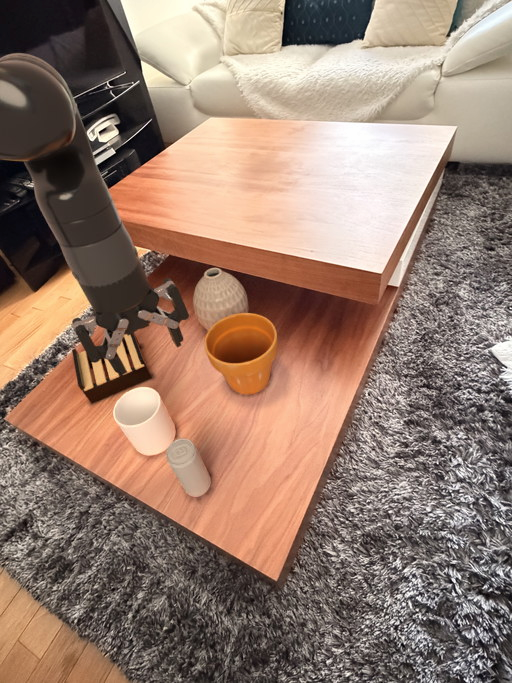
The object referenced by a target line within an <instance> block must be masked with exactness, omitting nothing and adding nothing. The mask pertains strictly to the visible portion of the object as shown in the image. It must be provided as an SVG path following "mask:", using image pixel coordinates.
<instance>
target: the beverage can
mask: <svg viewBox="0 0 512 683" xmlns="http://www.w3.org/2000/svg"><path fill="white" fill-rule="evenodd" d="M165 451H166V452H165V457H166V462H167V464H168V466H170V468H171V470H172V472H173V473H174V475H175V476H176V479H177V480H178V481H179V483H180V485H181V486H182V488H183V489H184V491H185V493H186V494H187V495H188V496H190V497H194V498H199V497H201V496H203V495H205V494H206V493H207V492H208V491H209V489H210V488H211V487H210V486H211V485H212V478H211V476H210V473H209V471H208V469H207V467H206V464H205V463H204V461H203V458H202V457H201V455H200V452H199V450H198V448H197V446H196V444H195V443H194V442H193V441H192V440H191V439H188V438H183V437H182V438H178V439H176V440H175V439H174V440H173V442H172V443H171V444H170V445H169V447H168V448H167V449H166V450H165Z"/></svg>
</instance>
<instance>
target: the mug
mask: <svg viewBox="0 0 512 683" xmlns="http://www.w3.org/2000/svg"><path fill="white" fill-rule="evenodd" d="M112 416H113V419H114V421H115V423H116V424H117V426H119V429H121V431H122V432H123V434H124V435H125V436H126V438H127V439H128V441H129V442H130V444H131V445H132V447H133V448H134V449H135V451H137V453H139V454H140V455H144V456H156V455H159V454H162V453H163V452H165V451H167V449H168V447H169V445H170V444H171V443H172V442H174V441H175V437H176V434H177V432H176V425H175V423H174V421H173V419H172V417H171V415H170V413H169V411H168V409H167V407H166V405H165V403H164V401H163V399H162V397H161V395H160V393H159V392H158V391H157V390H156V389H154V388H152V387H147V386H140V387H135V388H133V389H130V390H128V391H127V392H125V393H124V394H122V395H121V397H119V398H118V399H117V400H116V402H115V405H114V407H113V411H112Z"/></svg>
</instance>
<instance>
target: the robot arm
mask: <svg viewBox="0 0 512 683" xmlns="http://www.w3.org/2000/svg"><path fill="white" fill-rule="evenodd" d="M91 146H92V145H91V143H90V140H89V137H88V134H87V131H86V129H85V126H84V122H83V121H82V117H81V115H80V111H79V109H78V106H77V104H76V100H75V98H74V96H73V93H72V90H71V89H70V87H69V85H68V84H67V82H66V80H65V79H64V78H63V76H62V75H61V74H60V72H58V71H57V70H56V69H55V68H54V67H53V66H52V65H51V64H50V63H48V62H47V61H45V60H44V59H42V58H40V57H37V56H35V55H32V54H30V53H29V54H28V53H22V52H15V53H14V52H13V53H10V54H6V55H4V56H2V57H0V160H2V161H10V162H11V161H14V162H23V163H24V165H25V168H26V170H27V171H28V173H29V175H30V177H31V180H32V183H33V191H34V196H35V200H36V203H37V205H38V207H39V210H40V212H41V213H42V216H43V217H44V219H45V221H46V223H47V224H48V227H49V228H50V230H51V232H52V234H53V235H54V237H55V239H56V241H57V242H58V244H59V246H60V249H61V251H62V255H63V258H64V260H65V262H66V263H67V266H68V267H69V269H70V270H71V274H72V276H73V277H74V279H75V280H76V281H77V283H78V285H79V287H80V288H81V290H82V292H83V293H84V295H85V297H86V299H87V301H88V303H89V304H90V307H91V308H92V310H93V315H92V316H90V317H87V318H84V319H82V318H80V317H75V318H73V319H72V321H71V324H72V325H73V329H74V332H75V334H76V336H77V338H78V340H79V342H80V344H81V346H82V347H83V349H84V351H86V353H87V355H88V357H89V359H90V360H91V362H93V363H96V362H98V361H99V360H100V359H107V360H108V361H109V363H110V364H111V366H112V367H113V369H114V371H115V372H116V373H122V374H125V373H127V371H126V369H125V366H124V365H123V363H122V361H121V359H120V357H119V356H118V354H117V352H116V351H117V348H118V346H120V344H121V341H122V338H123V337H124V335H126V334H127V335H130V334H133V333H136V332H137V331H138V330H142V329H145V328H147V327H149V326H150V324H151V323H153V324H156V325H159V326H162V327H163V326H165V327H166V328H167V330H168V333H169V335H170V338H171V341H172V342H173V344H174V345H175V347H176V348H180V347H182V342H184V336H183V334H182V330H181V327H180V323H181V322H182V321H186V320H188V319H189V317H190V314H189V311H188V309H187V307H186V305H185V302H184V300H183V297H182V295H181V293H180V290H179V288H178V287H177V285H176V284H175V283H174V281H172V279H171V278H169V277H167V278H165V279H163V281H162V284H161V285H160V286H158V287H155V288H153V287H152V286H151V284H150V281H149V279H148V277H147V273H146V272H145V269H144V267H143V264H142V262H141V260H140V257H139V252H138V249H137V247H136V246H135V244H134V243H133V239H132V238H131V235H130V233H129V232H128V230H127V229H126V226H125V225H124V223H123V220H122V219H121V216H120V214H119V212H118V209H117V206H116V204H115V202H114V199H113V196H112V194H111V192H110V189H109V188H108V185H107V183H106V182H105V180H104V178H103V177H102V174H101V171H100V170H99V167H98V165H97V161H96V159H95V156H94V152H93V149H92V147H91ZM160 298H164V300H165V301H170V303H171V304H172V307H173V311H171V312H169V311H167V310H164V309H163V308H161V307H160V306H158V305H159V302H160ZM96 327H100V328H102V329H104V330H103V338H102V342H101V344H102V345H101V344H100V345H95V343H94V341H93V339H92V337H93V335H94V334H95V328H96Z"/></svg>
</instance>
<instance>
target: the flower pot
mask: <svg viewBox="0 0 512 683" xmlns="http://www.w3.org/2000/svg"><path fill="white" fill-rule="evenodd" d="M278 341H279V340H278V332H277V328H276V327H275V325H274V323H273V322H272V321H271V320H270V319H268V318H267V317H265V316H263V315H261V314H258V313H252V312H248V313H239V314H234V315H230V316H228V317H225V318H223V319H221V320H220V321H218V322H217V323H215V324H214V325H213V326H212V327H211V328H210V329H209V331H208V330H207V332H206V334H205V337H204V342H203V343H204V344H203V346H204V350H205V354H206V356H207V358H208V361H209V362H210V364H211V366H212V368H214V370H216V371H217V372H219V373H220V374H221V375H222V377H224V380H225V381H226V382H227V383H228V385H229V386H230V388H231V389H232V390H233V391H234V392H236V393H238V394H240V395H245V396H247V395H248V396H249V395H254V394H258V393H259V392H262V391H263V390H264V389H265V388H266V387H267V386H268V384H269V381H270V376H271V371H272V365H273V362H274V360H275V358H276V357H277V355H278V354H277V353H278V347H279V345H278V343H279V342H278Z"/></svg>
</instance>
